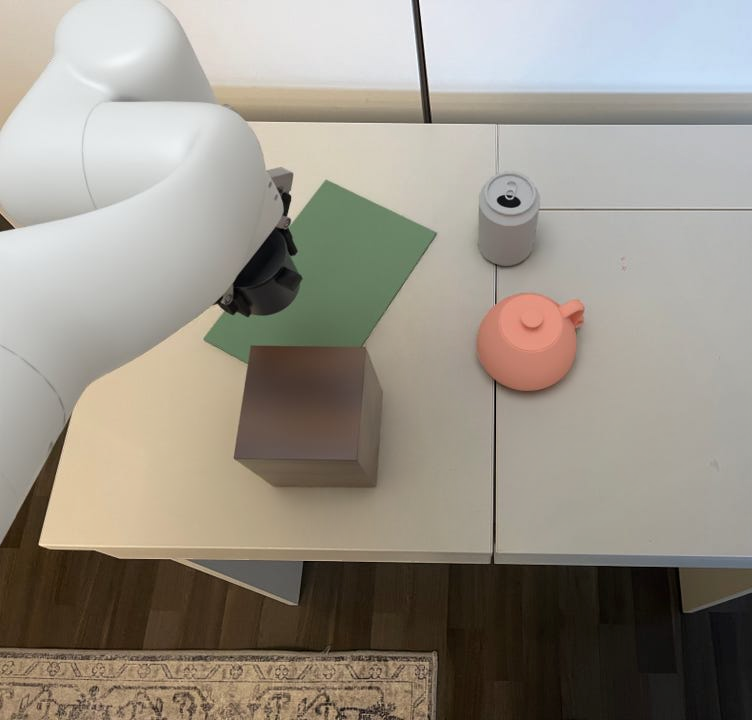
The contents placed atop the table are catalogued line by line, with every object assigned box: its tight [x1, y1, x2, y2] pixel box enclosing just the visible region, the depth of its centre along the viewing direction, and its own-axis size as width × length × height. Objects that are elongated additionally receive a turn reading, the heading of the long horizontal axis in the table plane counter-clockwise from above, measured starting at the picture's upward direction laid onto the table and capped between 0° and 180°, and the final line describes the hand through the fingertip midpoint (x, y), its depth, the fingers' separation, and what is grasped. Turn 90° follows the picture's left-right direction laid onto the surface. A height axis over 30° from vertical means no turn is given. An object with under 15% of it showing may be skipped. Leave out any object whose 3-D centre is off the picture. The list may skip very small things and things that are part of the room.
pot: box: [233, 227, 303, 316], centre depth 64 cm, size 7×11×6 cm
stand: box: [233, 345, 384, 489], centre depth 72 cm, size 12×12×14 cm
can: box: [477, 170, 541, 267], centre depth 84 cm, size 8×8×12 cm
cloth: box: [202, 179, 438, 365], centre depth 86 cm, size 28×18×1 cm, turn 151°
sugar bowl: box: [476, 292, 586, 392], centre depth 79 cm, size 12×14×10 cm
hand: (261, 277), depth 66 cm, fingers closed on pot, 7 cm apart
